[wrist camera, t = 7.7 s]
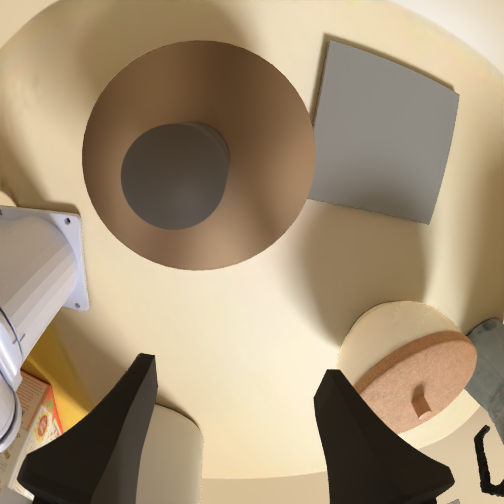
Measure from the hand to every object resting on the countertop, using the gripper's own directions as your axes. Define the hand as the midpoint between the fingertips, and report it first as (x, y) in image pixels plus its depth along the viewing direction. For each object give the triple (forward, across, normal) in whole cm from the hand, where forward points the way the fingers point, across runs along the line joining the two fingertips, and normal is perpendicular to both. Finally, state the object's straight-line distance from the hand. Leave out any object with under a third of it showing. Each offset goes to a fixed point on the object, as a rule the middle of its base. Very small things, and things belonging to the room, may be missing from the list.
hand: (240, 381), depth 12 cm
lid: (+5, +3, -8) cm, 10 cm away
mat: (+10, -8, -11) cm, 16 cm away
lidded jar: (+10, -13, +4) cm, 17 cm away
